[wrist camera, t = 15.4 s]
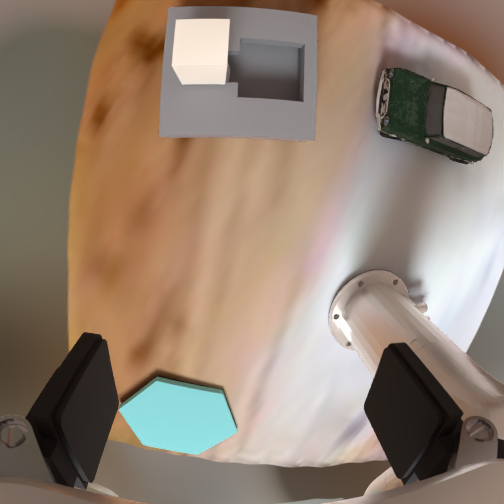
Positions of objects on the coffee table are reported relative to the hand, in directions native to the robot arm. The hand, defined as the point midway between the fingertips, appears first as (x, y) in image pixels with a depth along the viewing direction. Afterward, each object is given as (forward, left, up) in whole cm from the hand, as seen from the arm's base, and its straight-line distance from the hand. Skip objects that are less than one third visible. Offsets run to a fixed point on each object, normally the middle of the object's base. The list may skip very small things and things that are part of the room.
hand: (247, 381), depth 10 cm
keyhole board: (-1, -15, -28) cm, 32 cm away
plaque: (+8, +34, -29) cm, 45 cm away
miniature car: (-26, -14, -29) cm, 41 cm away
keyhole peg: (+3, -15, -27) cm, 31 cm away
